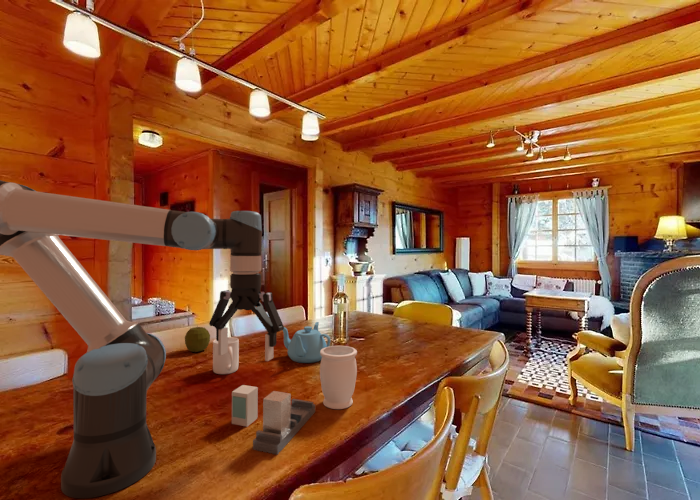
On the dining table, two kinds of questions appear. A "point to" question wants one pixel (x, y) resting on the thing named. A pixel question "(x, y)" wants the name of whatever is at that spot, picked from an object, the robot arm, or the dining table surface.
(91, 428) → the robot arm
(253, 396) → the block
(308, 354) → the teapot
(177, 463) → the dining table surface
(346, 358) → the jar
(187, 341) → the olive green ball
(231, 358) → the mug
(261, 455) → the dining table surface
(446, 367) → the dining table surface
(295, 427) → the rail
